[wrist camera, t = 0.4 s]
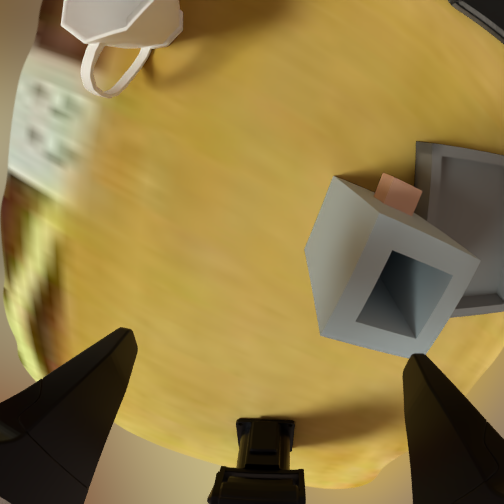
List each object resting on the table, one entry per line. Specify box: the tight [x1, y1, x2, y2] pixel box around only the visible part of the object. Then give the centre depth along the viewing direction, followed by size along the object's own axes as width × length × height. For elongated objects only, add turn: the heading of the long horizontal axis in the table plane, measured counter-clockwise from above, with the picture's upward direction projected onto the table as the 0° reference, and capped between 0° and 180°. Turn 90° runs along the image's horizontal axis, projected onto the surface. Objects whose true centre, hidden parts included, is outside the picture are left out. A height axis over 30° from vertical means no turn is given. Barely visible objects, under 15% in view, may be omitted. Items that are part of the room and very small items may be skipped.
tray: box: [414, 141, 504, 318], centre depth 21 cm, size 14×12×3 cm
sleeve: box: [304, 173, 481, 358], centre depth 17 cm, size 8×6×11 cm
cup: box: [61, 0, 183, 98], centre depth 15 cm, size 7×10×8 cm
